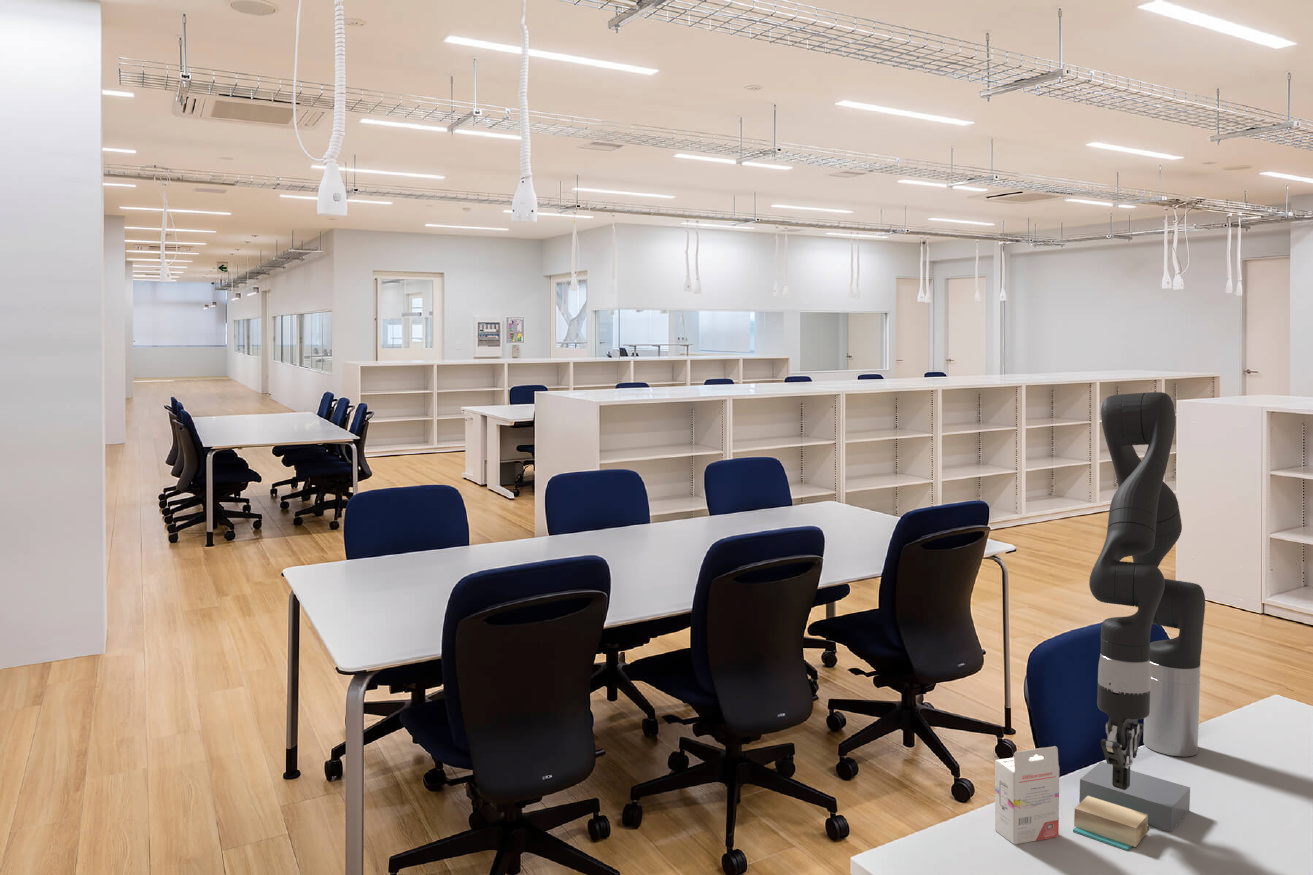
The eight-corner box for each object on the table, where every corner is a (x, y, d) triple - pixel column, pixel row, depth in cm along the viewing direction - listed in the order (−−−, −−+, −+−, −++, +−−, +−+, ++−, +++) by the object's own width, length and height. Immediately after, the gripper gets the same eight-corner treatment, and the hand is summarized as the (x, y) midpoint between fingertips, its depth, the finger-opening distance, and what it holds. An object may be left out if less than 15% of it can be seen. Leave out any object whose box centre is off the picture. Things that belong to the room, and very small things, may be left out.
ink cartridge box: (1037, 822, 140) (1039, 734, 139) (1059, 837, 135) (1061, 746, 135) (992, 829, 138) (994, 740, 137) (1013, 845, 133) (1015, 753, 132)
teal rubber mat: (1095, 809, 144) (1095, 808, 144) (1148, 827, 138) (1148, 825, 138) (1072, 831, 137) (1072, 829, 137) (1127, 850, 131) (1127, 848, 131)
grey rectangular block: (1100, 783, 154) (1101, 761, 154) (1189, 810, 144) (1190, 787, 144) (1079, 801, 147) (1079, 779, 147) (1171, 831, 137) (1171, 807, 137)
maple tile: (1074, 808, 138) (1074, 826, 138) (1136, 828, 132) (1135, 846, 132) (1087, 795, 142) (1087, 812, 142) (1147, 814, 136) (1147, 832, 136)
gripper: (1113, 668, 147) (1110, 767, 148) (1084, 687, 138) (1081, 792, 139) (1162, 679, 141) (1159, 781, 142) (1135, 699, 132) (1132, 808, 133)
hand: (1120, 786), depth 140 cm, fingers closed
